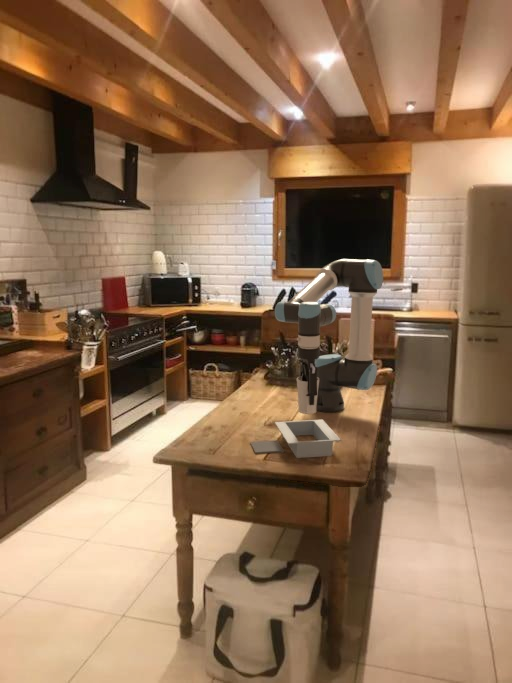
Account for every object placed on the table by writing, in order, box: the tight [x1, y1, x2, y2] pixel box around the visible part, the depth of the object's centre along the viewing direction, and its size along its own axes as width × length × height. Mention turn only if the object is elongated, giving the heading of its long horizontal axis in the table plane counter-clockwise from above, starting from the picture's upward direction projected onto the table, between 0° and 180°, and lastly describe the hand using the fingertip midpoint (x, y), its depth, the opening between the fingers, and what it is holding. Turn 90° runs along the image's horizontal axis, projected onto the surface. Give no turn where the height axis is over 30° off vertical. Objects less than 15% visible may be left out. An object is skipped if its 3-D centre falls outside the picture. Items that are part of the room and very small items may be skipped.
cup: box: [296, 375, 319, 415], centre depth 197 cm, size 8×8×12 cm
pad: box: [250, 439, 284, 455], centre depth 198 cm, size 10×10×1 cm
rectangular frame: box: [274, 419, 342, 459], centre depth 200 cm, size 19×22×6 cm
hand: (307, 409), depth 198 cm, fingers closed on cup, 7 cm apart
